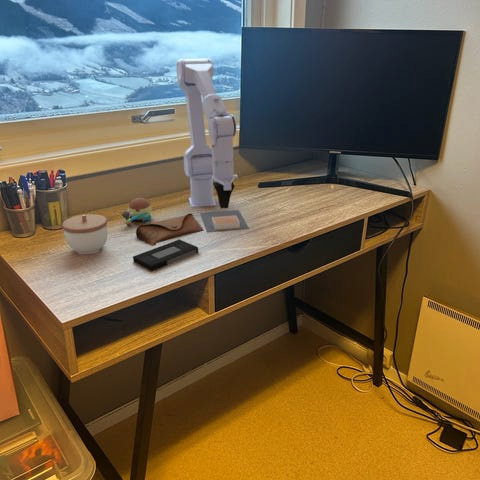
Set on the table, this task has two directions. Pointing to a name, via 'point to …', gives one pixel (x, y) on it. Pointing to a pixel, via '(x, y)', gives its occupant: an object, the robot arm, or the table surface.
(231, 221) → the tile
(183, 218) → the sunglasses case
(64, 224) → the lidded jar
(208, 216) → the mat
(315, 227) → the table surface
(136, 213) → the figurine
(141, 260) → the vhs tape
